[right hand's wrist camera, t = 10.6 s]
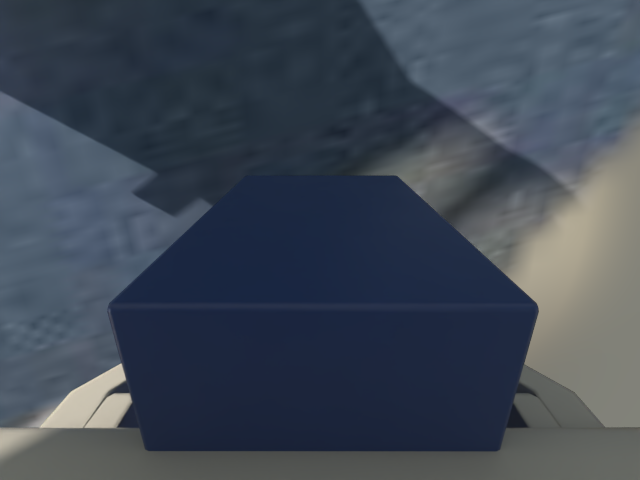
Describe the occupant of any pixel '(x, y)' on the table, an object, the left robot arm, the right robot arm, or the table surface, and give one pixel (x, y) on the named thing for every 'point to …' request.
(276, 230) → the bar
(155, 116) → the table surface
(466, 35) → the table surface
